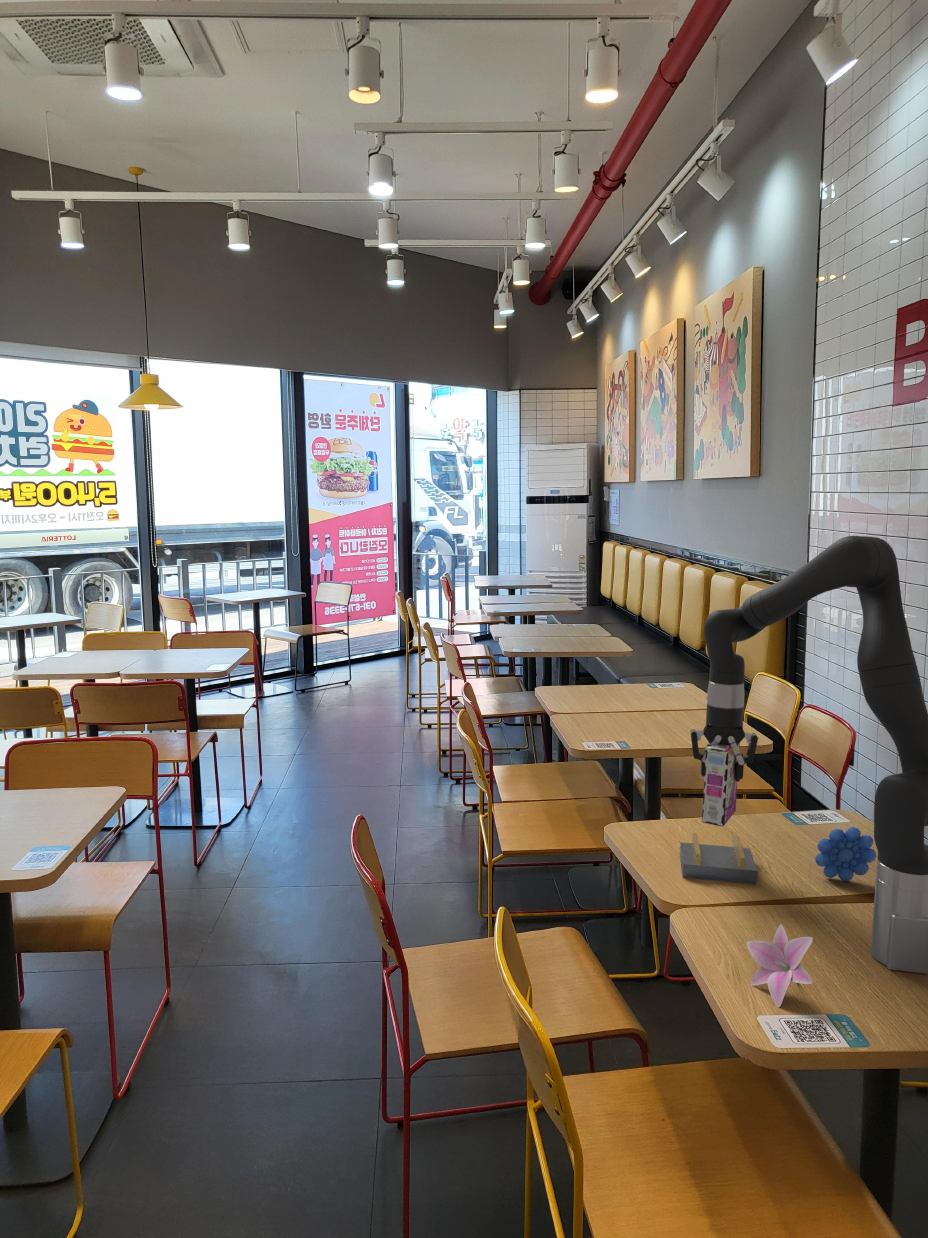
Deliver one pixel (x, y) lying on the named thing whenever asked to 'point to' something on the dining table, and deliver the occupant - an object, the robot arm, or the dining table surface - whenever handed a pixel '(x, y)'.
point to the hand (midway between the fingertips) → (721, 779)
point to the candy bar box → (719, 785)
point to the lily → (780, 963)
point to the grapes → (845, 853)
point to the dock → (717, 862)
